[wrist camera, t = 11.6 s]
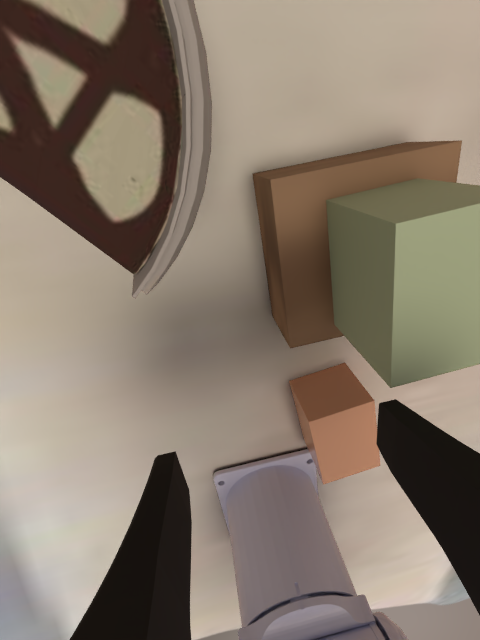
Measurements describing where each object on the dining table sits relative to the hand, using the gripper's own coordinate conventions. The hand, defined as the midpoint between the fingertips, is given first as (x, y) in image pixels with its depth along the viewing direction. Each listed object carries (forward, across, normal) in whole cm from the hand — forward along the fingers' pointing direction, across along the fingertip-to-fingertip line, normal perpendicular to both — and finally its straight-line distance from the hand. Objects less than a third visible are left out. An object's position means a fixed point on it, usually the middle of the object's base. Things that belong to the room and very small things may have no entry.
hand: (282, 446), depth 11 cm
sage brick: (+6, -6, -4) cm, 9 cm away
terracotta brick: (+10, -5, +8) cm, 13 cm away
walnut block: (+10, -6, -4) cm, 12 cm away
